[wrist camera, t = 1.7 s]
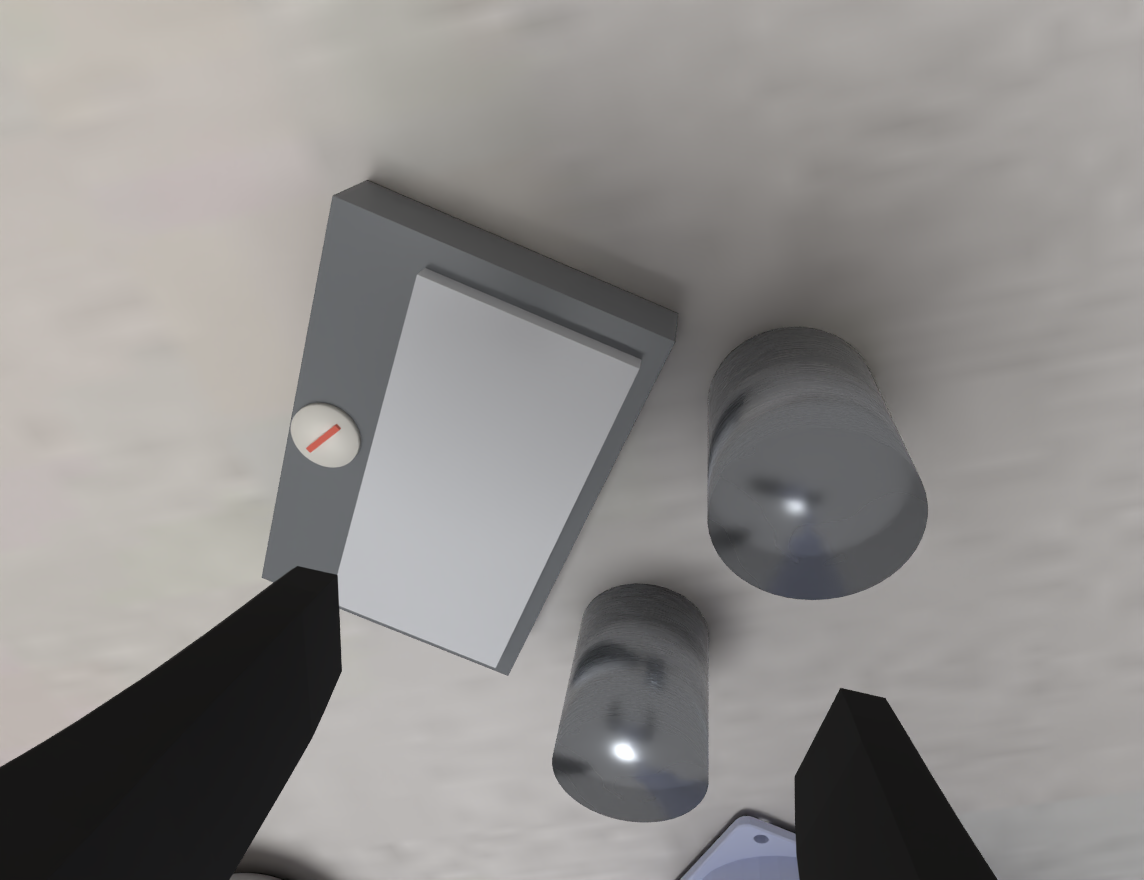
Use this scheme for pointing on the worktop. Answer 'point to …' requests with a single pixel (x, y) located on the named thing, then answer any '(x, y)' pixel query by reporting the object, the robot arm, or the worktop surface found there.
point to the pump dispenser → (252, 877)
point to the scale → (453, 422)
